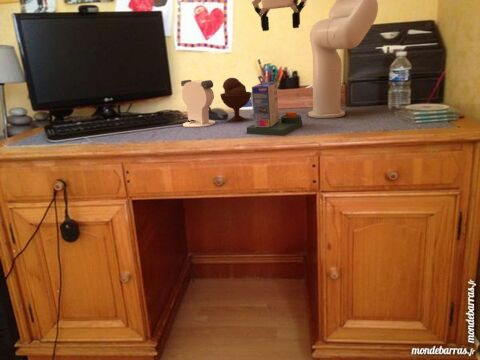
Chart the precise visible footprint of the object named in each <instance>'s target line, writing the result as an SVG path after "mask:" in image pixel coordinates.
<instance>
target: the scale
mask: <svg viewBox="0 0 480 360" xmlns="http://www.w3.org/2000/svg"><path fill="white" fill-rule="evenodd" d="M302 126H303V119H302V115H300V114H296V117H286V114H284V115H281V116H280V118H279V121H278V122H277V123H276V124H274V125H273V126H272V127H270V128H264V127H255V123H254V124H252V125H250V126H247V127H246V134H247V135H248V134H249V135H261V136H279V137H284V136H286V135H287V134H289V133H291V132H293V131H295V130H296V129H299V128H300V127H302Z"/></svg>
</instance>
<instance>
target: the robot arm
mask: <svg viewBox="0 0 480 360" xmlns="http://www.w3.org/2000/svg"><path fill="white" fill-rule="evenodd" d="M307 2H308V0H300V1H299V0H252V1H251V5H252V7H253V9H254V11H255V13H256V14H257V15H258V17H259V18H260V26H261V29H262V32H268V31H269V30H270V23H269V22H270V21H269V16H268V13H269V12H270V10H277V9H285V8H290V9H291V10H292V11H293V12H292V14H291V18H292V20H291V21H292V22H291V23H292V28H293V29H299V28H300V25H301V12H302V10H303V9H304V8H305V6H306V4H307ZM260 3H261V4H260ZM259 4H260V5H261V7H262V8H261V7H260V5H259ZM378 11H379V3H378V0H335V1H334V2H333V4H332V5H331V8H330V10H329V11H328V18H325V19H321V20H319V21H318V20H317V22H315V23H314V24H313V25H312V26H311V28H310V31H309V41H310V46H311V52H312V110H311V111H308V113H307V114H308V116H309V117H310V118H316V119H335V118H342V117H344V116H345V115H346V111H345V110H344V109H343V110H342V109H341V106H342V105H341V101H342V68H343V67H342V66H343V65H342V59H341V56H340V54H339V52H338V50H351V49H354V48H357V47H358V46H359V45H360V44H361V43H362V41H363V40H364V39H365V37H366V35H367V34H368V32H369V31H370V29H371V28H372V26H373V25H374V23H375V21H376V19H377V16H378Z"/></svg>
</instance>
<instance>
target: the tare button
mask: <svg viewBox="0 0 480 360" xmlns="http://www.w3.org/2000/svg"><path fill="white" fill-rule="evenodd" d="M285 115H286V117H296V115H297V111H286V112H285Z"/></svg>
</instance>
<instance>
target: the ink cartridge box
mask: <svg viewBox="0 0 480 360" xmlns="http://www.w3.org/2000/svg"><path fill="white" fill-rule="evenodd" d="M257 78H258V81H259V83H257V84H255V85H253V86H251V92H252V96H253V108H252V110H253V109H254V113H253V119H254V121H253V122H254V124H255V127H264V128H270V127H272V126H273V125H274V124H276V123H277V122H278V121H279V119H280V118H279V98H278V83H277V81H275V82H274V81H273V82H266V80H265V79H264V77H263V76H262V75H259V76H257Z"/></svg>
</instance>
